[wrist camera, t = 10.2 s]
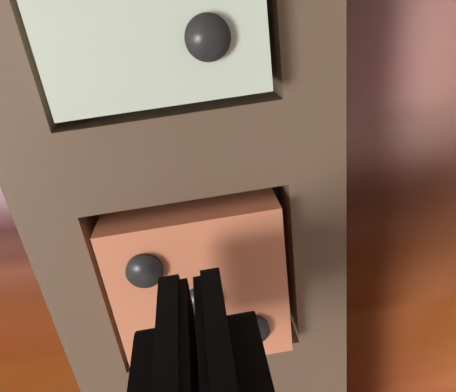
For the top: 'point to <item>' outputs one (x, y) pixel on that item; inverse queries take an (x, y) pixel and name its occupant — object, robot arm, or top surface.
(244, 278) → the tile three
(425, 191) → the top surface
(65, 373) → the top surface
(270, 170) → the tile panel
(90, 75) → the tile two
